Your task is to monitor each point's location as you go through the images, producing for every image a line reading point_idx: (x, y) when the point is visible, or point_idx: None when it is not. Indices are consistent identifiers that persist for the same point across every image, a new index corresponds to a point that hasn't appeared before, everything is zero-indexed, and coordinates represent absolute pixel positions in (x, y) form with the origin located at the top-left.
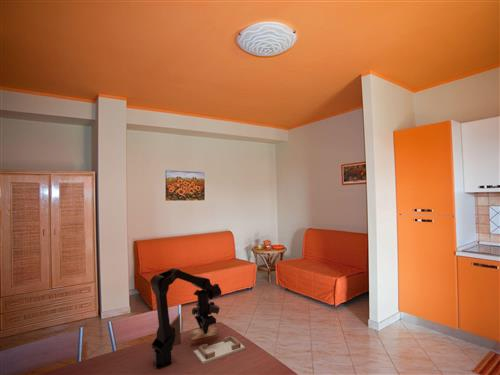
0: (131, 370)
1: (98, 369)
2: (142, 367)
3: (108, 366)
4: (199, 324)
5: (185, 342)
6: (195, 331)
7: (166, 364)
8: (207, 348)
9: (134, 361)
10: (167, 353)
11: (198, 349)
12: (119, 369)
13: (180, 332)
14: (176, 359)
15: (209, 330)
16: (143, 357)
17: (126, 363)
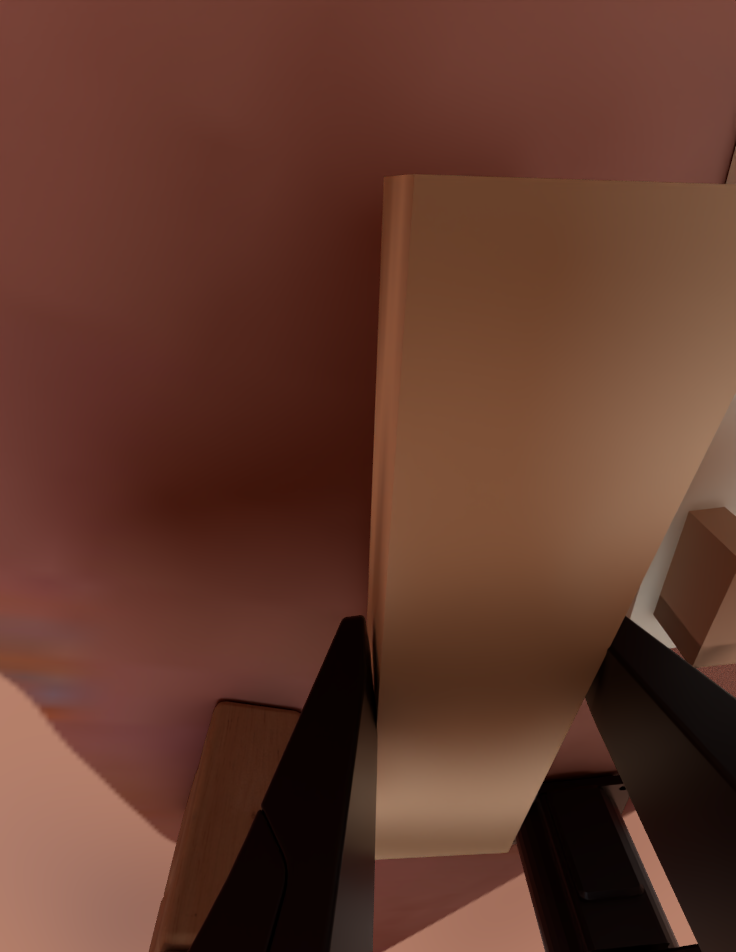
0: (502, 884)
1: (389, 943)
2: (513, 861)
3: (385, 930)
4: (370, 908)
5: (292, 666)
6: (458, 809)
7: (622, 803)
8: (726, 510)
9: (409, 883)
10: (658, 908)
11: (667, 625)
12: (449, 909)
13: (207, 832)
14: (584, 744)
15: (627, 565)
16: (389, 862)
17: (406, 899)
